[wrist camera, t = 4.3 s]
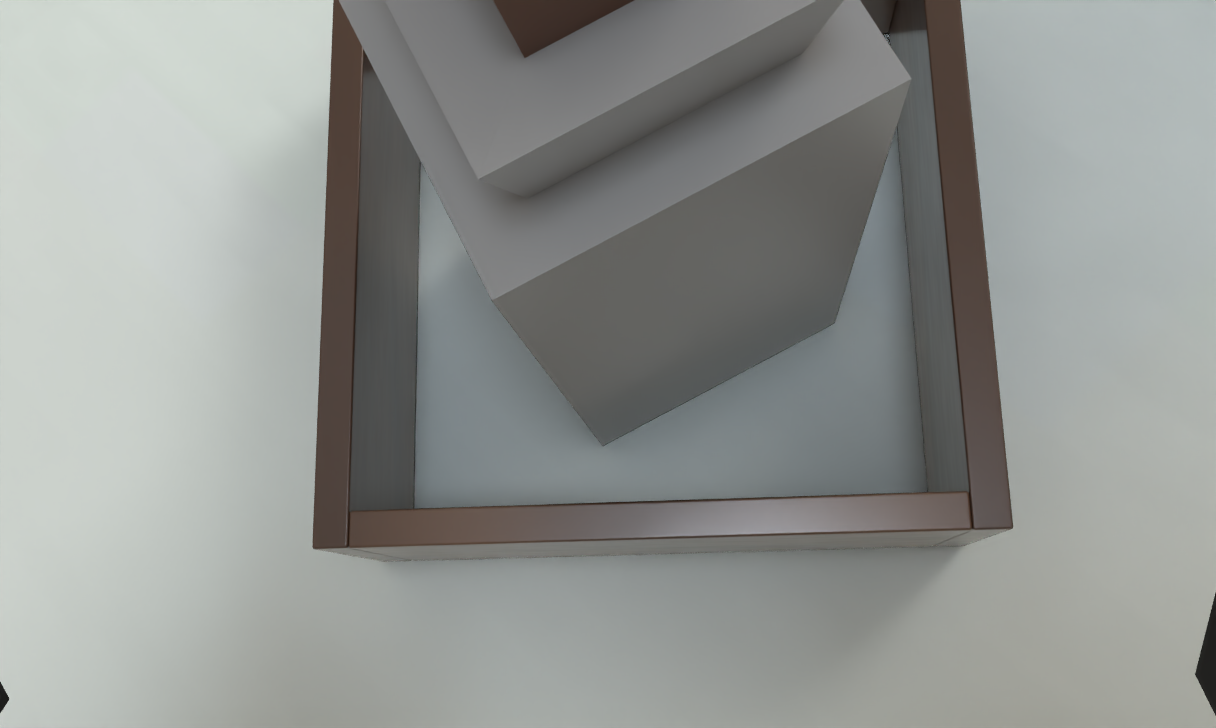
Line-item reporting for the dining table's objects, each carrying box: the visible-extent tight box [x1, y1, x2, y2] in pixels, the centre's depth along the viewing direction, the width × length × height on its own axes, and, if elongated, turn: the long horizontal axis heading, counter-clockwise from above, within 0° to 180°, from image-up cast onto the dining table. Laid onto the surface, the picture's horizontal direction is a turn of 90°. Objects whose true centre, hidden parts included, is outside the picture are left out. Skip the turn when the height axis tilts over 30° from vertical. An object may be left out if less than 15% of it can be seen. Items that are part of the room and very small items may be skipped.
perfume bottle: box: [339, 0, 911, 446], centre depth 21 cm, size 7×7×18 cm
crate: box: [313, 0, 1013, 562], centre depth 28 cm, size 15×15×5 cm
